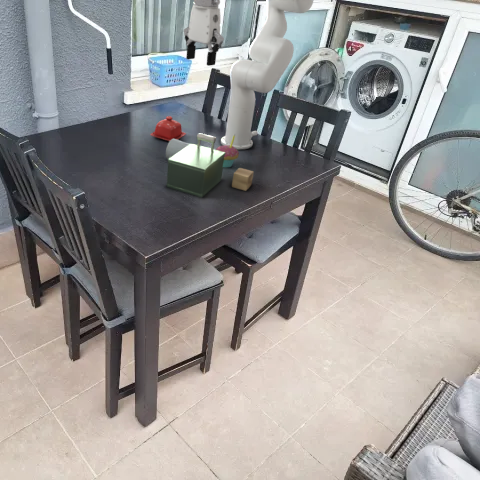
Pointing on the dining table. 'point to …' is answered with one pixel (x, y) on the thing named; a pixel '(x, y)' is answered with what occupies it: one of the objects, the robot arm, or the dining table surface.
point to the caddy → (194, 178)
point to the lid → (198, 154)
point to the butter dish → (168, 129)
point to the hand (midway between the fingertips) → (200, 61)
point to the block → (242, 179)
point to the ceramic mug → (175, 147)
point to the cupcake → (229, 153)
